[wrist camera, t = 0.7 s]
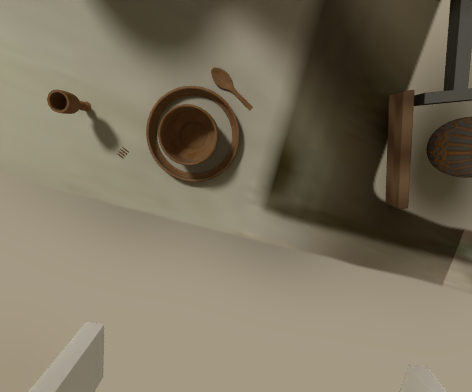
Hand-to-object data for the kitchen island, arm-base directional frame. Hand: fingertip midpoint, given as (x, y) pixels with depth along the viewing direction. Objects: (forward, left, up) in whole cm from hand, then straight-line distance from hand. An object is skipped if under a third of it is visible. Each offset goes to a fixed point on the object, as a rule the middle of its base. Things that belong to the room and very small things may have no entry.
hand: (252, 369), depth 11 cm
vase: (-6, +26, -26) cm, 38 cm away
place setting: (-13, -9, -27) cm, 31 cm away
